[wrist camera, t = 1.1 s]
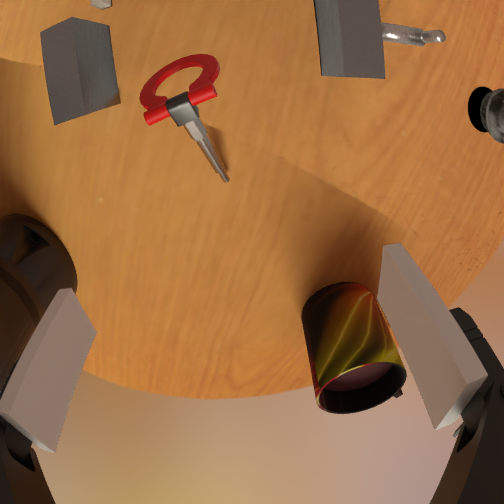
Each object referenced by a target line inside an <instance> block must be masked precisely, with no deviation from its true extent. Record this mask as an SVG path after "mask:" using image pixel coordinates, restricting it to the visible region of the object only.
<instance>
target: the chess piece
mask: <svg viewBox="0 0 504 504" xmlns="http://www.w3.org/2000/svg"><path fill="white" fill-rule="evenodd" d="M468 115H469V118H470V121H471V123H472V124H473V126H474V127H475V128H476V129H477V130H479V131H481V132H489V133H490V135H491V136H492V137H493V138H494V140H496V141H497V142H499V143H503V144H504V89H498V90H494V91H492V90H491V89H489V88H487V87H478V88H476V89H475V90H474V91H473V92H472V93H471V95H470V98H469V101H468Z"/></svg>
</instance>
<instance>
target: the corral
mask: <svg viewBox="0 0 504 504" xmlns="http://www.w3.org/2000/svg"><path fill="white" fill-rule="evenodd" d="M91 6H94V7H97V8H100V9H106V8H109V7H111V6H112V0H91Z"/></svg>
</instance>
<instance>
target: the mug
mask: <svg viewBox="0 0 504 504" xmlns="http://www.w3.org/2000/svg"><path fill="white" fill-rule="evenodd" d="M302 324H303V329H304V334H305V340H306V345H307V351H308V356H309V362H310V367H311V373H312V379H313V385H314V390H315V397H316V401H317V405H318V406H319V407H320V408H321V409H322V410H324V411H327V412H329V413H336V414H349V413H356V412H360V411H364V410H367V409H370V408H373V407H375V406H377V405H379V404H381V403H383V402H385V401H386V400H388V399H390V398H391V397H392V396H394V397H396V398H398V397H399V396H401V395H402V394H403V393H402V390H401V387H402V386H403V385H404V383H405V381H406V377H407V374H406V370H405V367H404V365H403V363H402V360H401V358H400V355H399V353H398V350H397V348H396V346H395V343H394V341H393V339H392V336H391V334H390V332H389V329H388V327H387V325H386V323H385V320H384V318H383V316H382V314H381V311H380V309H379V307H378V305H377V303H376V301H375V298H374V296H373V294H372V293H371V291H370V290H369V289H368V288H366V287H365V286H363V285H361V284H358V283H353V282H341V283H336V284H332V285H329V286H327V287H324V288H323V289H321V290H319V291H317V292H316V293H315V294H314V295H313V296H311V297H310V299H309V300H308V301H307V302H306V304H305V306H304V308H303V311H302Z"/></svg>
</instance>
